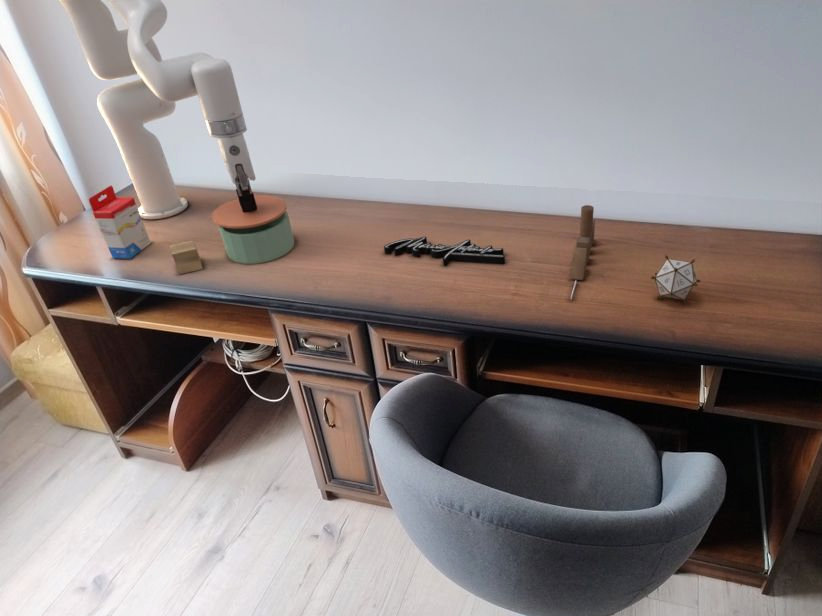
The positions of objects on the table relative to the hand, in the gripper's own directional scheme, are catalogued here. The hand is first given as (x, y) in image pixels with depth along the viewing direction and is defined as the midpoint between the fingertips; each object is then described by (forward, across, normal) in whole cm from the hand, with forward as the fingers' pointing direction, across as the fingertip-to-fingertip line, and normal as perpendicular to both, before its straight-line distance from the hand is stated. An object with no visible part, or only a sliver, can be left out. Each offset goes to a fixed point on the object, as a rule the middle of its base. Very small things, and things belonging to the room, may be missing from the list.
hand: (248, 207), depth 141 cm
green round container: (+10, -1, 0) cm, 10 cm away
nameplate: (+9, -26, -36) cm, 45 cm away
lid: (+1, 0, 0) cm, 1 cm away
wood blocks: (+9, -46, -58) cm, 75 cm away
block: (+10, -2, +16) cm, 19 cm away
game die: (+9, -64, -67) cm, 93 cm away
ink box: (+11, +14, +28) cm, 33 cm away
